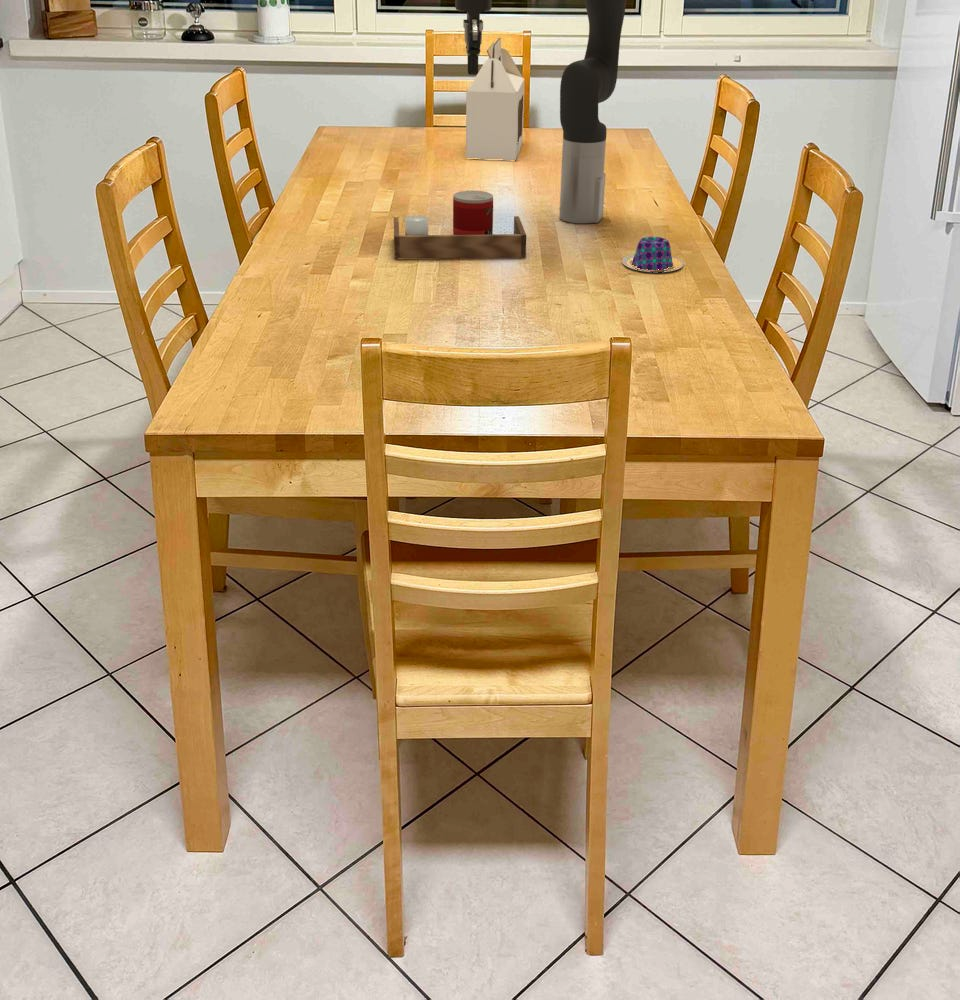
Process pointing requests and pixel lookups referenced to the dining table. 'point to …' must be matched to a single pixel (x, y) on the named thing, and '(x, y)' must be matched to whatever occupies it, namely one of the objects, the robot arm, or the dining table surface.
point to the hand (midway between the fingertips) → (472, 74)
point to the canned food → (472, 213)
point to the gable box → (495, 108)
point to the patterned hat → (652, 255)
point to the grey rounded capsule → (416, 225)
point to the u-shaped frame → (461, 244)
